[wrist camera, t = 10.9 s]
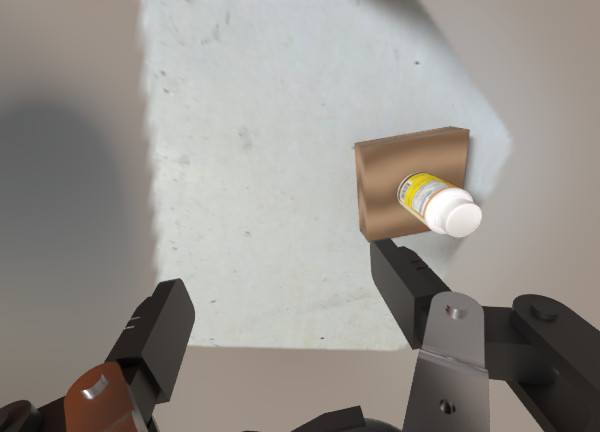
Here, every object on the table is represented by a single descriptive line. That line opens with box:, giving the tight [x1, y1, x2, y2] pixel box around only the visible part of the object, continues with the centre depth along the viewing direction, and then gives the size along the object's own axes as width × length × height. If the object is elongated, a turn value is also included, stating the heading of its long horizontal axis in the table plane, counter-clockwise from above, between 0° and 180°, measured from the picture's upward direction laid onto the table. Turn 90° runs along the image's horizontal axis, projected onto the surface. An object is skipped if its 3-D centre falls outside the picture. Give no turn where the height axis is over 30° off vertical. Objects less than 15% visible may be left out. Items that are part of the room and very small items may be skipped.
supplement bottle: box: [397, 172, 482, 237], centre depth 33 cm, size 6×6×10 cm
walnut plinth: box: [355, 126, 470, 243], centre depth 39 cm, size 14×14×4 cm
